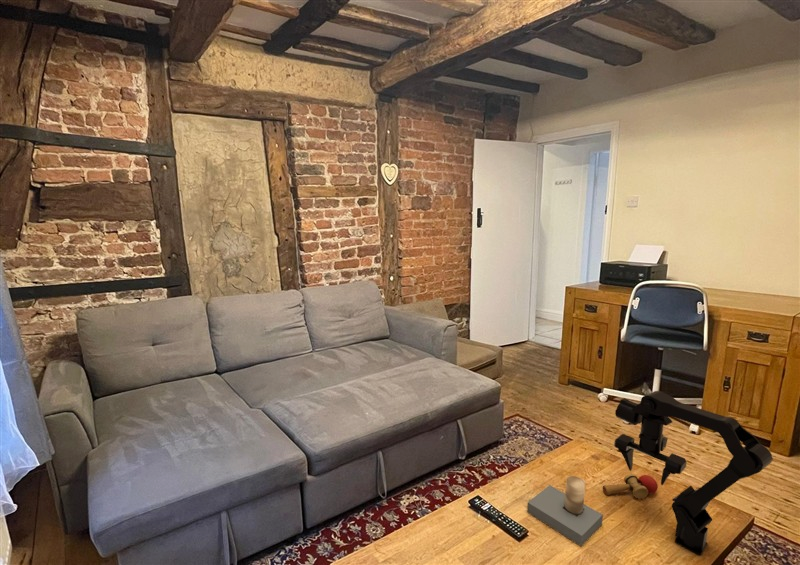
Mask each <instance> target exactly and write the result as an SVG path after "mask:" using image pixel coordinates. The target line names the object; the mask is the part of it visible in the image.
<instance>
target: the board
mask: <svg viewBox="0 0 800 565" xmlns="http://www.w3.org/2000/svg"><path fill="white" fill-rule="evenodd" d="M565 493H566V492H563V491H561V490H559V489H557V488H556V487H555V486H552V485H550V484H549V485H548V486H547V487H545V488H544V489H543V490H541V491H540V492H539V493H537V494H536V495H535V496H534V497H532V498H531V499H529V501H527V508H526V509H527V510H526V512H527V513H528V514H530V515H531V516H533V517H534V518H536V519H537V520H539V521H541V522H543V523H544V524H545V525H546V526H548V527H550V528H552V529H553V530H554V531H556V532H557V533H559V534H561V535H562V536H564V537H566V538H567V539H569V540H570V541H572V542H573V543H575V544H577V545H579V546H580V547H582V546H583V545H584V544H585V543H586V542H587V541H588V540H589V539H590V538H591V536H593V535H594V534H595V533H596V532H597V531H598V529H599V528H600V527H601V526H602V525H603V519H604V518H603V517H604V514H603V513H600V512H599V511H597V510H596V509H593V507H590V506H588V505H586V504H585V503H584V506H583V513H582V514H581V515H578V516H575V515H573V514H570V513H569V512H567V511H566V510H565V508H564V504H565Z"/></svg>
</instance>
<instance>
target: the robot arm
mask: <svg viewBox="0 0 800 565" xmlns="http://www.w3.org/2000/svg"><path fill="white" fill-rule="evenodd" d="M614 412H615V413H614V414H615V417H616V418H618V419H620V420H622V421H624V422H626V423H629V424H631V425H632V426H633V425H634V426H637V425H639V424H640V432H639V434H638V439H639V441H638V443H637V442H635V437H632V436H629V435H628V434H624V433H622V434H620V435H619V436H618V437H616V438H615V440H614V444H613V446H614V448H616V449H617V450H618V451H619V453H621V455H622V456H623V458H624V461H625V464H626V465H627V467H628V471H630V472H632V470H633V465H634V461H633V460H634V451H637V452H639V453H642V454H644V455H647V456H649V457H652V458H653V459H655V460H659V461H661V462H664V468H663V470H662V474H661V480H660V485H661V486H663V485H665V483H666V481H667V480H668V478H669V476H670V475H676V474H679V475H680V474H682V472H683V471H684V470H685V469H686V468H687V463H688V462H687V460H686V459H685V458H684V457H682V456H680V455H677V454H675V453H672V452H671V454H670V455H669V456H667V455H665V454H664V453H661V452H664V449H666V448H667V444H668V437H667V436H664V433H663V432H664V426H668V425H670V424H672V423H673V420H672V419H671V418H675V419H679V420H682V421H684V422H687V423H690V424H693V425H695V426H698V427H701V428H705V429H707V430H711V431H713V432H717V433H718V434H719V435H720V436H721V438H722V439H723V442H724V444H725V446H726V448H727V450H728V452H729V453H730V455H731V456H732V458H731V459H730V460H729V462H728V464H727V465H726V466H725V468H724V469H723V470H721V471H720V472H719V473H717V474H716V475H715V476H713V477H712V478H711V479H710V480H708V481H707V482H705V483H704V484H703V485H702V486H700V488H697V489H695V488H694V487H693V486H692V485H690V486H688V487H687V488H685V489H684V490H682V491H681V492H680V493H679V494H677V495H676V496H675V497H673V498H672V501H673V502H672V503H671V508H672V512H673V514H674V516H675V520H676V526H675V534H674V536H675V539H674V543H675V544H677V545H679V546H681V547H682V548H685V549H687V550H689V551H691V552H692V553H694V554H696V555H698V556H702V554H703V552H705V549H706V547H707V546H708V542H707V536H708V529H709V528H708V527H707V526H709V525H710V524H711V523H712V521H713V518H712V516H711V515H710V514H709V512H708V511H707V509H706V508H707V507H708V506H709V504H710V502H711V501H712V500H713V499H715V498H717V496H719V495H721V493H723V492H725V491H726V490H727V489H729V488H730V487H732V486H733V485H734V484H735V483H737V482H738V481H740V480H741V479H745V478H749V477H752V476H754V475H757V474H758V473H760V472H762V471H763V470H764V469H765V468H766V467H768V466H769V465H770V464H771V463H772V462H773V454H772V453H771V451H770V450H769V448H767V447H766V446H765V445H763V444H762V443H761V442H760V441H759V440H758V438H757V437H756V436H755V435H753V434H752V432H749V431H748V430H747V429H746V428H744V427H743V426H742V425H741V423H740V422H739V421H738V420H736V419H735V418H733V417H729V416H724V415H722V414H719V413H714V412H712V411H708V410H705V409H702V408H699V407H696V406H692V405H689V404H685V403H682V402H681V401H679V400H677V399H675V398H674V396H671V395H669V394H668V393H665V392H664V391H661V390H655V391H652V392H650V393H648V394H645V395H643V396H642V397H641V398H640V403H636V402H633V401H631V400H629V399H628V398H626V397H624V398H622V399H620V402H619V403H618V405H617V407H616V409H615V410H614ZM670 417H671V418H670ZM742 444H743V445H744V446H743V445H742Z"/></svg>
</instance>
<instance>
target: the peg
mask: <svg viewBox="0 0 800 565" xmlns="http://www.w3.org/2000/svg"><path fill="white" fill-rule="evenodd" d="M565 480H566V481H565V492H564V493H565V504H564V508H565V510H566V511H567V512H569V513H570V514H573V515H575V516H578V515H581V514H582V513H583V506H584V504H585V495H586V494H585V491H586V481H585V480H584V479H582V477H581V478H580V477H579V476H575V475H569V476H568V477H566V479H565Z"/></svg>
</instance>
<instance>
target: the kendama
mask: <svg viewBox="0 0 800 565" xmlns="http://www.w3.org/2000/svg"><path fill="white" fill-rule="evenodd" d="M623 481H624V483H619V484H608V485H605V484H604V485H602V491H603V493H604V495H605V496H609V495H613V494H618V493H621V492H624V491H628V490H629V491H630V490H631V489H632V496H634V497H635V499H637V498H638V500H640V499H639V498H642V499H645V498H646V497H647V496H648V495H653V494H655V493H656V492H657V491H658V488H659V486H658V482H657V480H656V479H655V478H654V477H653V476H651V475H649V474H642V475H640V476H639V477H638V476H637V475H636V474H634V473H629V474H626V475H625V476H624V479H623Z"/></svg>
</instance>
